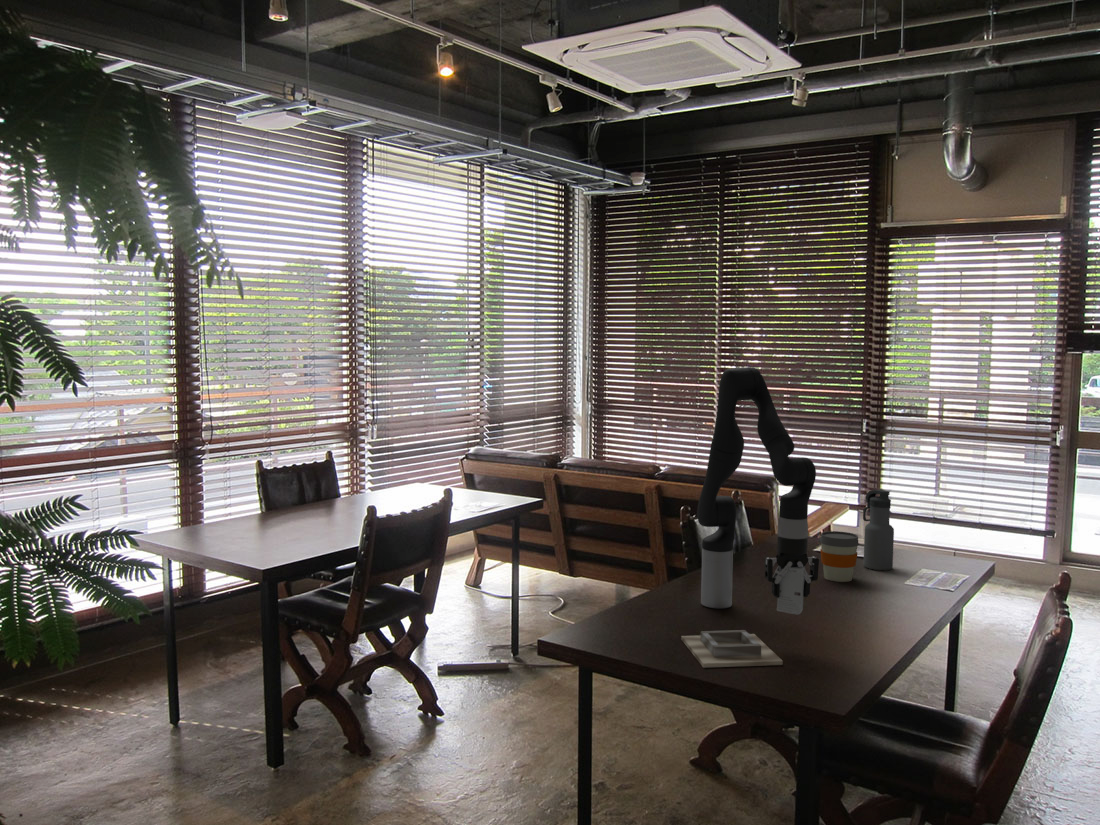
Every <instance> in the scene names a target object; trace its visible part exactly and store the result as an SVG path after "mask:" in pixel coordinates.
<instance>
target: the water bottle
mask: <svg viewBox="0 0 1100 825" xmlns="http://www.w3.org/2000/svg"><path fill="white" fill-rule="evenodd" d="M877 495H879V496H877ZM889 496H890V491H889V490H886V489H872V490H871V489H870V490H869V491H868V492H867V493H866V495H865V499H864V500H865V502H866V504H867V506H865V507H864V508H863V510H862V519H863V520H862V521H864V522H869V523H867V524H866V525H865V526H864V538H863V539H864V540H863V542H864V543H863V566H864V567H865V568H866V569H868V568H869V570H872V569H874V571H880V570H886V571H889V570H892V569H893V564H894V561H893V560H894V540H895V539H894V538H895V528H894V527H893V526H892V525H891V524H890V517H891V516H890V512H891V506H892V505H891V502H892V499H891V498H889ZM867 510H869V519H867V518H866V516H867V515H866V514H867V513H866V512H867Z"/></svg>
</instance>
